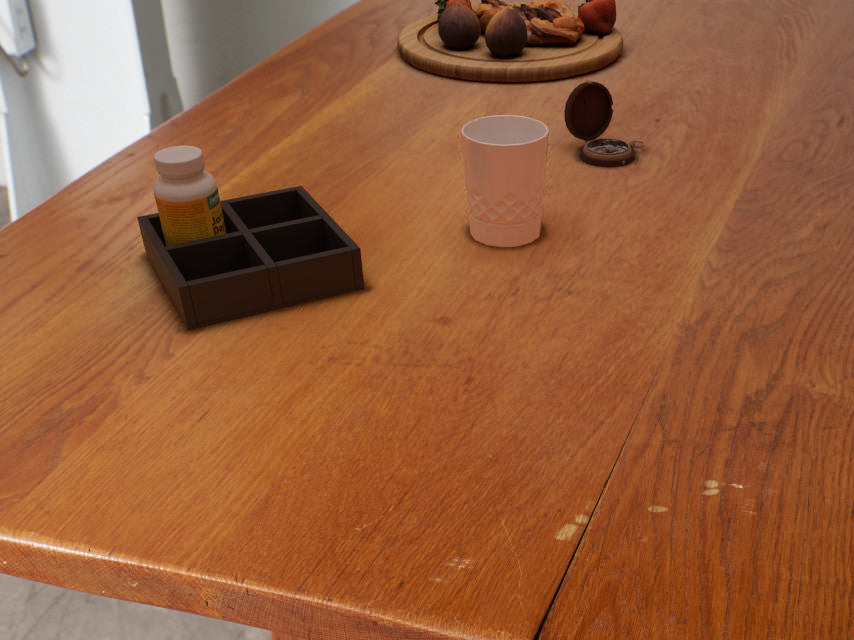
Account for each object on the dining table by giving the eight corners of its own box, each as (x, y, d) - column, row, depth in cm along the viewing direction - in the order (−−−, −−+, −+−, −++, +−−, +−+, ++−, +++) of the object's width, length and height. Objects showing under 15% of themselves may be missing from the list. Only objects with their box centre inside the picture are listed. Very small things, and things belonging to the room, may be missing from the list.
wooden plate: (628, 26, 155) (633, -34, 149) (614, 91, 130) (619, 23, 125) (424, 18, 158) (421, -41, 153) (373, 80, 134) (368, 12, 129)
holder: (188, 333, 82) (178, 287, 80) (147, 259, 93) (136, 216, 90) (365, 291, 88) (360, 247, 85) (307, 226, 98) (301, 185, 96)
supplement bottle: (172, 248, 93) (148, 144, 87) (231, 243, 94) (211, 139, 87) (168, 274, 89) (142, 167, 83) (230, 269, 89) (209, 162, 83)
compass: (600, 173, 109) (604, 104, 104) (560, 150, 114) (562, 83, 109) (659, 159, 112) (666, 91, 107) (618, 138, 117) (622, 72, 113)
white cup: (517, 211, 101) (518, 109, 95) (562, 239, 96) (566, 133, 90) (449, 229, 98) (445, 124, 92) (492, 259, 93) (490, 151, 86)
